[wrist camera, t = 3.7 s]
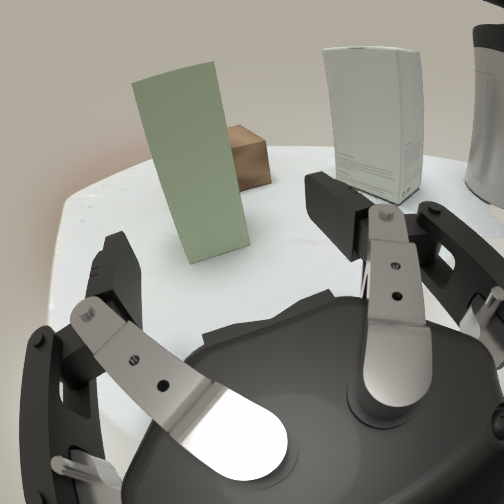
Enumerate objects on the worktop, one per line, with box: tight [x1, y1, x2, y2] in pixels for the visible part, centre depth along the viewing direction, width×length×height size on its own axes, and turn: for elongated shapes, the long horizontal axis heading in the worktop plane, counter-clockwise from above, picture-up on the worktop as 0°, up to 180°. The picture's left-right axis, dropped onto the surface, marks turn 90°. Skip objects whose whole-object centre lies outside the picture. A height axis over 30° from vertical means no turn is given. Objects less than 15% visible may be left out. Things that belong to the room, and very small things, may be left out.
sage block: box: [132, 62, 250, 264], centre depth 19 cm, size 5×5×14 cm
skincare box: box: [322, 46, 424, 204], centre depth 22 cm, size 8×6×15 cm
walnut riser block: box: [227, 125, 271, 191], centre depth 32 cm, size 10×10×5 cm
